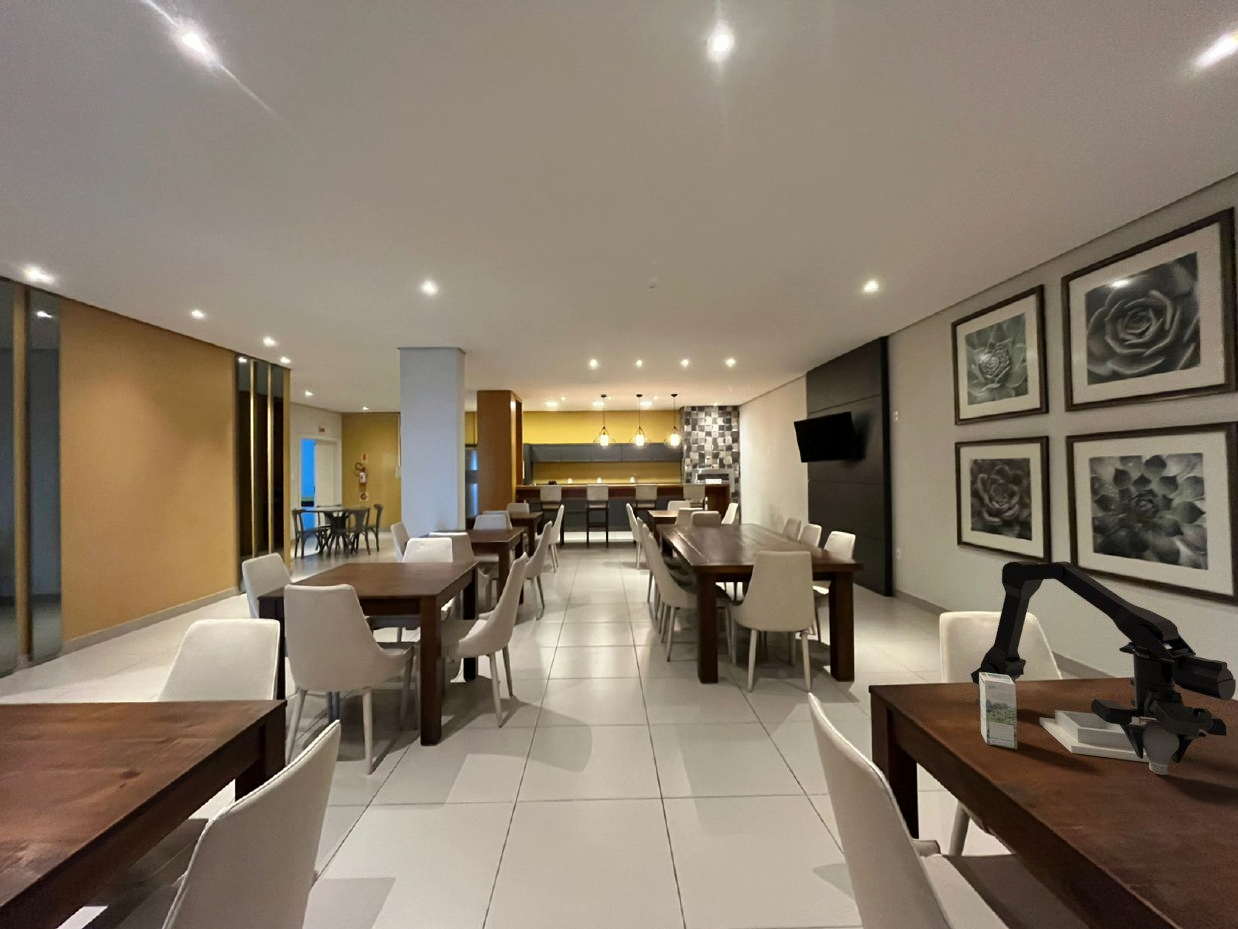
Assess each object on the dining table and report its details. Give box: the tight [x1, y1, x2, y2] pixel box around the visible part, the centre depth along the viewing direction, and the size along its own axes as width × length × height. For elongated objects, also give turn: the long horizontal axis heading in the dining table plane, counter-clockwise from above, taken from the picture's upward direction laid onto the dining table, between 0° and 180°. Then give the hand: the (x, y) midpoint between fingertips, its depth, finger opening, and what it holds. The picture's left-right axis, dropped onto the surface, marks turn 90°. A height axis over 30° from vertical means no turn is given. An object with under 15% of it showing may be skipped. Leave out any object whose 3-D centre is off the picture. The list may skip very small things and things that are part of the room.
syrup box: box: [979, 672, 1018, 750], centre depth 115 cm, size 6×6×14 cm
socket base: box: [1039, 709, 1149, 763], centre depth 114 cm, size 14×14×4 cm
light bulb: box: [1139, 720, 1179, 776], centre depth 101 cm, size 6×6×10 cm
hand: (1157, 760), depth 101 cm, fingers closed on light bulb, 5 cm apart
